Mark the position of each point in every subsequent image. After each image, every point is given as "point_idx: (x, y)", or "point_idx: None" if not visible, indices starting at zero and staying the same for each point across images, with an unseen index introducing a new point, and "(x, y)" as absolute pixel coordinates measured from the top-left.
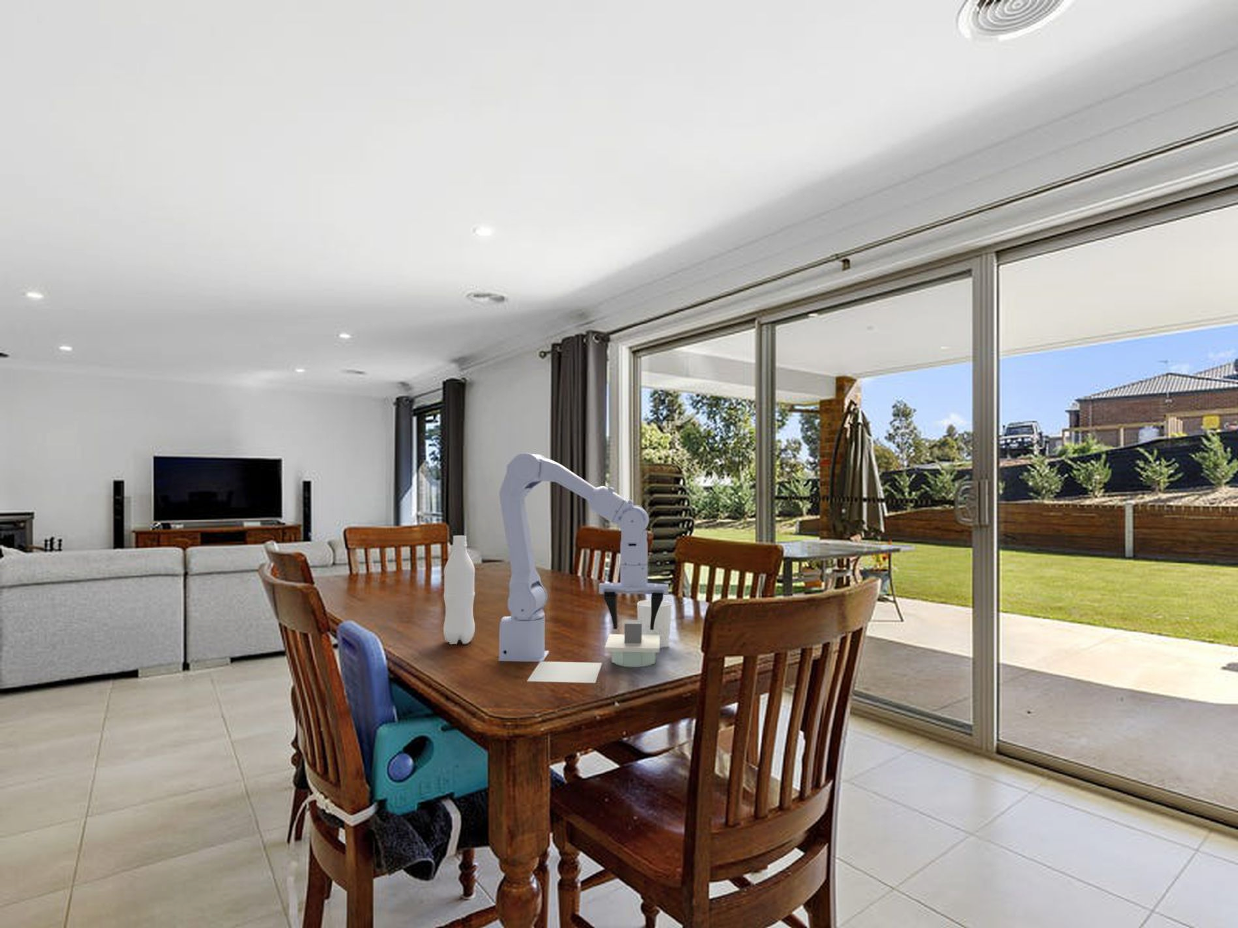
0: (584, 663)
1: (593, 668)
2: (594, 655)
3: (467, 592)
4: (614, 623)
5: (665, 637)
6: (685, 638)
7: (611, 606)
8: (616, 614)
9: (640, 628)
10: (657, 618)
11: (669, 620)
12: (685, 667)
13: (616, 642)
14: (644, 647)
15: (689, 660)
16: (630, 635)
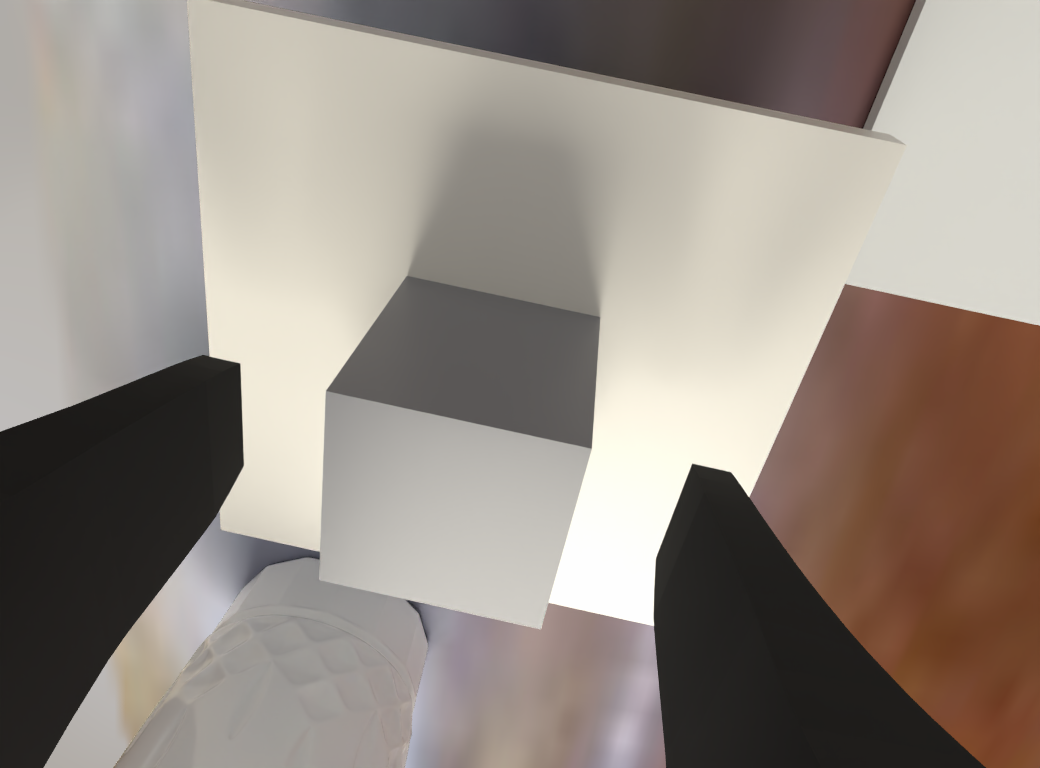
0: (984, 280)
1: (958, 98)
2: (789, 522)
3: None
4: (740, 507)
5: (223, 626)
6: (150, 712)
7: (899, 745)
8: (692, 676)
9: (362, 358)
10: (200, 757)
11: (124, 751)
12: (82, 107)
13: (688, 351)
14: (378, 69)
15: (74, 297)
16: (520, 341)
